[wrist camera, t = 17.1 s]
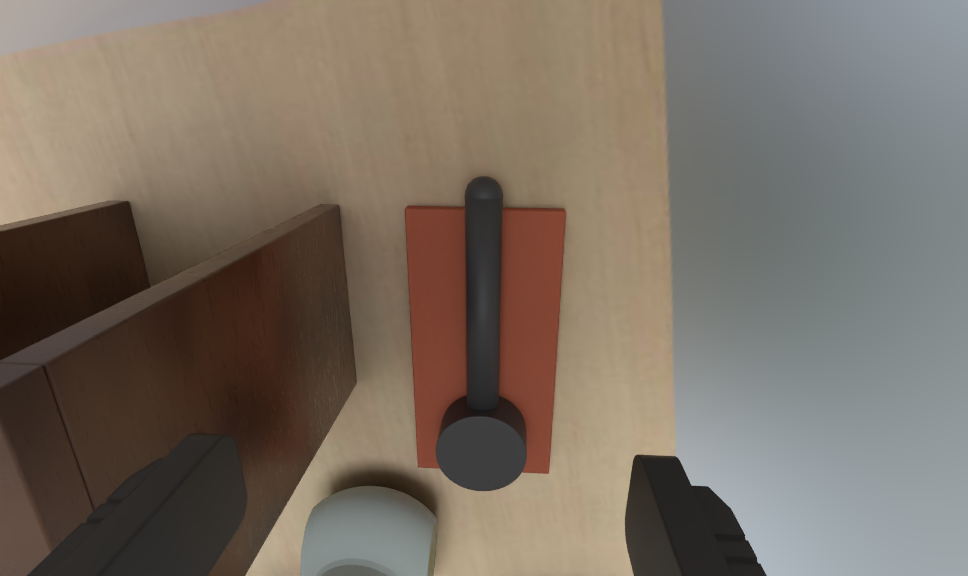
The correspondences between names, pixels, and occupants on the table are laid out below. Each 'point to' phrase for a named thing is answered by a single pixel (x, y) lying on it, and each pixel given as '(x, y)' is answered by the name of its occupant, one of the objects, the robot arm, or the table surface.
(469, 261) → the ladle
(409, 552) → the air freshener
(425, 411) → the mat
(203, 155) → the table surface
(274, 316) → the stand
